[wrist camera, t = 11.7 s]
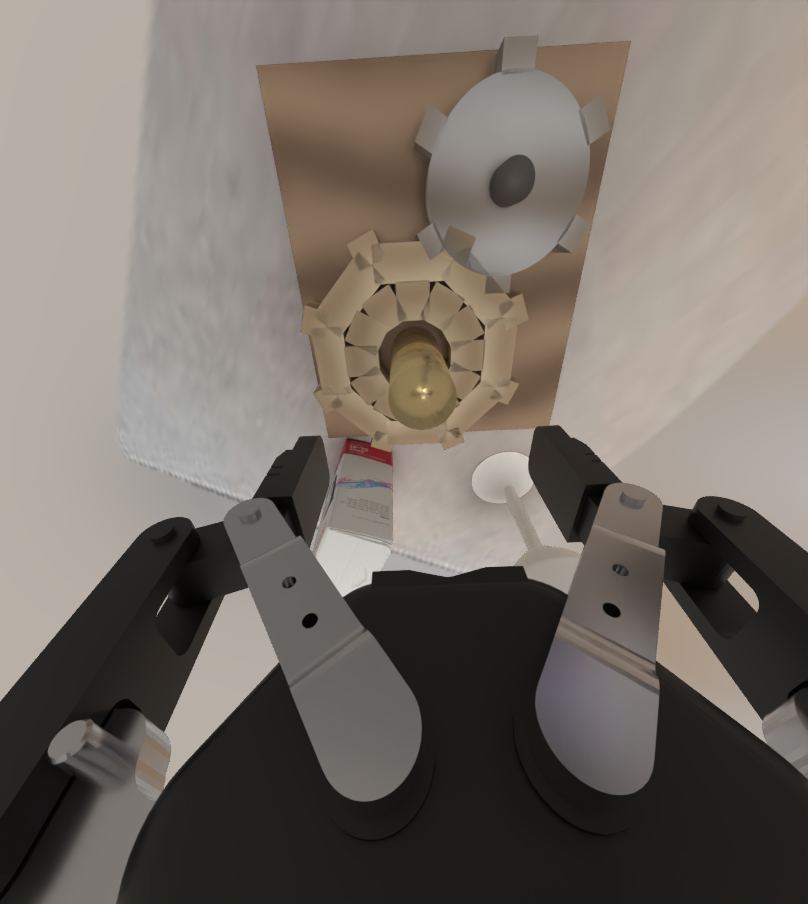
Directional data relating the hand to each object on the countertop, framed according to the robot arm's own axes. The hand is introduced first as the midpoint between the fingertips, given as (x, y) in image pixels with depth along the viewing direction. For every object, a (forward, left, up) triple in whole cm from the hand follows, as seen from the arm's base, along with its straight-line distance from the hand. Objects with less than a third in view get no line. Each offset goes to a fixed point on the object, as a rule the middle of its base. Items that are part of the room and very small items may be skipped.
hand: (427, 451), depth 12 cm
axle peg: (0, 0, -15) cm, 15 cm away
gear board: (-4, +2, -17) cm, 17 cm away
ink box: (+13, -6, -17) cm, 22 cm away
